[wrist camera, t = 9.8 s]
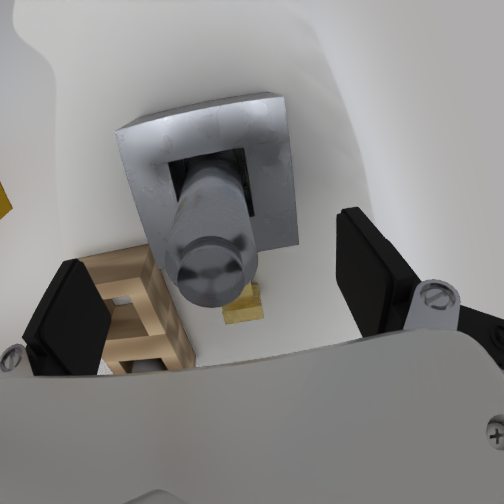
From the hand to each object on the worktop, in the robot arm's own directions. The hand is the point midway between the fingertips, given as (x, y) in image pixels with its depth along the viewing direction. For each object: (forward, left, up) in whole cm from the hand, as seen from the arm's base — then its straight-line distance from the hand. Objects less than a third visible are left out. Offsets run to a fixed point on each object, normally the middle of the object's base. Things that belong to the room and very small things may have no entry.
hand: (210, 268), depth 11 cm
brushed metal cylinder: (-1, 0, -15) cm, 15 cm away
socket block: (-1, 0, -15) cm, 15 cm away
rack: (-15, +11, -15) cm, 24 cm away
